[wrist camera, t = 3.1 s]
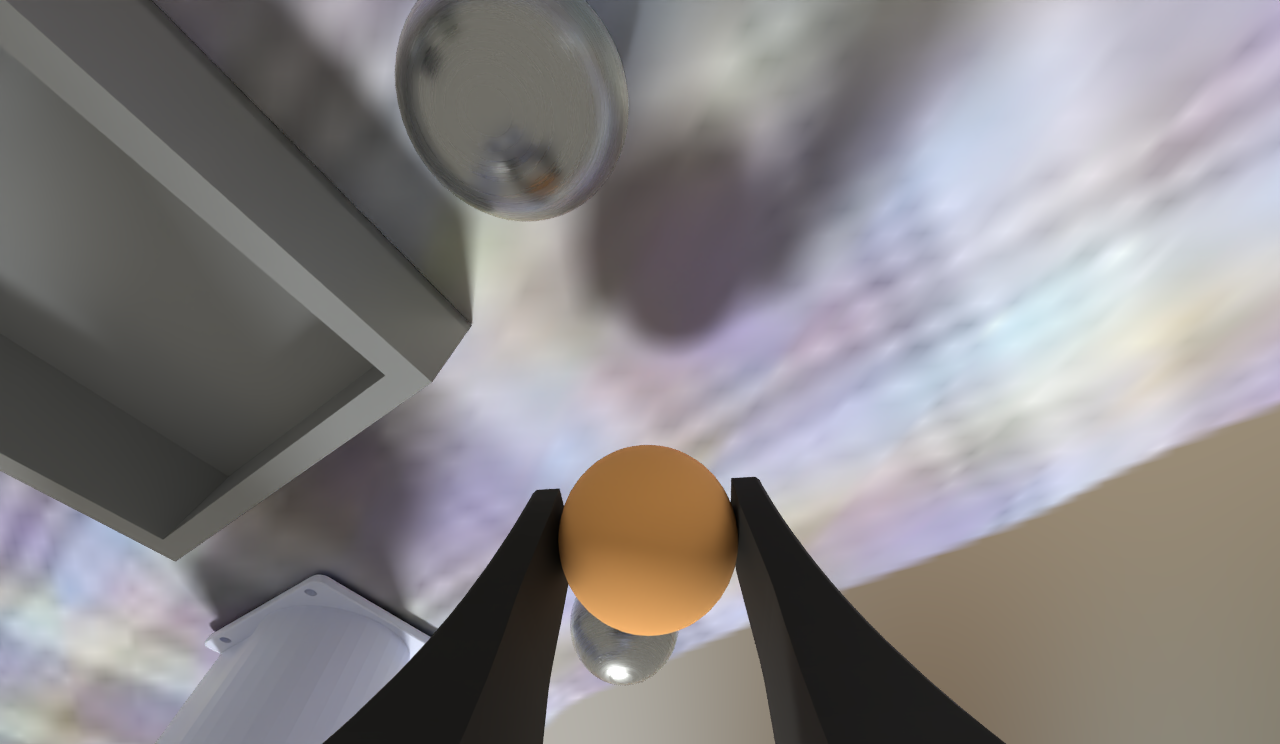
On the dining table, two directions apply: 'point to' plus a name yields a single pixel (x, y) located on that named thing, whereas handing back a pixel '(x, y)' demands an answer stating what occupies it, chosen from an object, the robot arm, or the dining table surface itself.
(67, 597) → the dining table surface
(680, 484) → the orange ball
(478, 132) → the steel ball
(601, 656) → the steel ball
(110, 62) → the bin
